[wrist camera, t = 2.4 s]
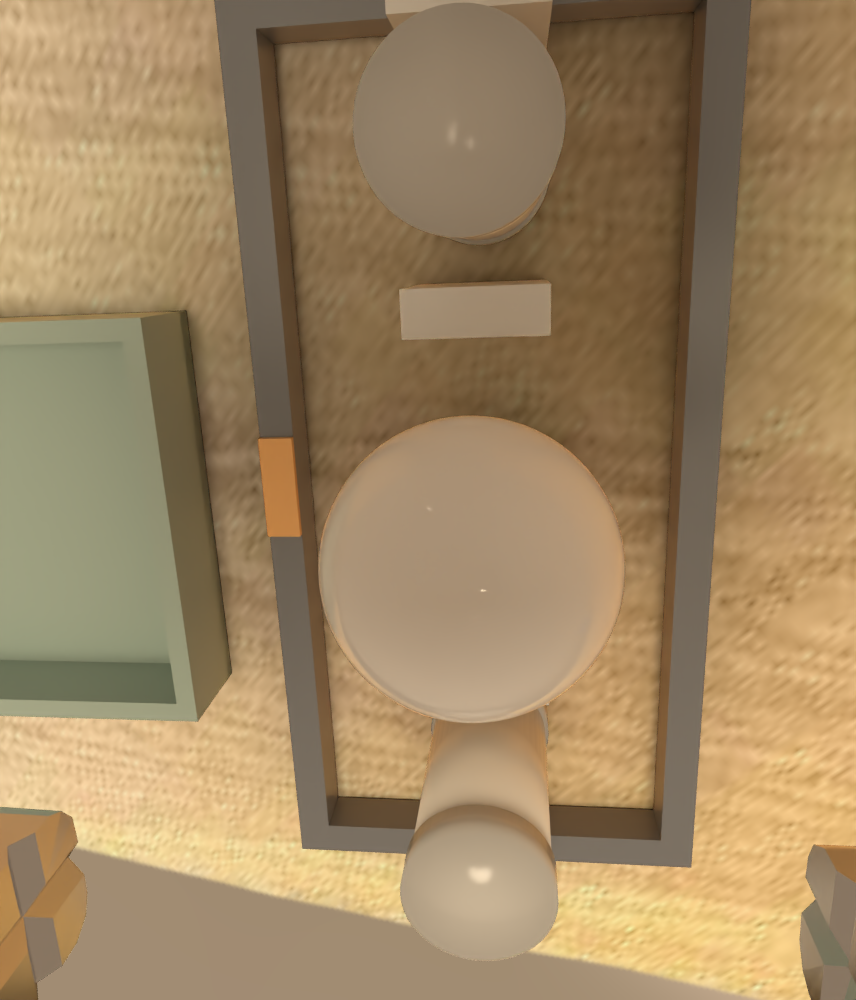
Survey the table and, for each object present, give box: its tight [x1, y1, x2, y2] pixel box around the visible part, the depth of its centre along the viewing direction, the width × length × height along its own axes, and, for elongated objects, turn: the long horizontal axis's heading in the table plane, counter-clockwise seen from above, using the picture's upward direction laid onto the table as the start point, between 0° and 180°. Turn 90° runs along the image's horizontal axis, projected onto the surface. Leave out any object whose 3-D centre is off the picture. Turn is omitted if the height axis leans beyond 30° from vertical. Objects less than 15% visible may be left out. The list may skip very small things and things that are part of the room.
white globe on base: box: [353, 3, 566, 245], centre depth 18 cm, size 4×4×8 cm
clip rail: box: [214, 0, 751, 868], centre depth 22 cm, size 26×13×4 cm, turn 2°
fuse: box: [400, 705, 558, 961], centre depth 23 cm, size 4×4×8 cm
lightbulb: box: [318, 415, 625, 723], centre depth 19 cm, size 6×6×11 cm
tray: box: [0, 311, 232, 722], centre depth 25 cm, size 12×12×3 cm
